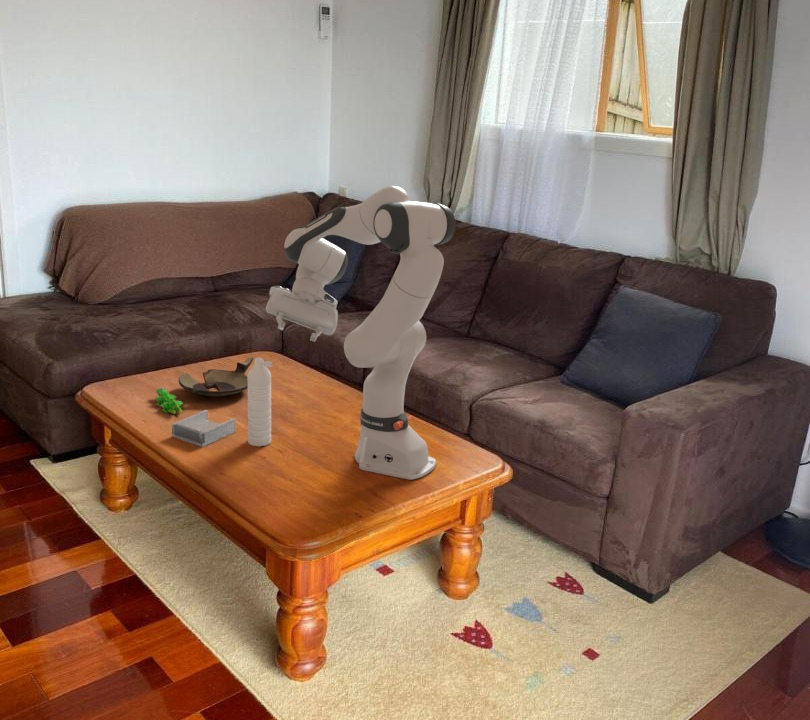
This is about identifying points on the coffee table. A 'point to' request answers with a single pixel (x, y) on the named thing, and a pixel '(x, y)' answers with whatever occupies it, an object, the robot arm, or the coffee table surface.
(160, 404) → the crocodile figurine
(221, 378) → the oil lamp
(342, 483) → the coffee table surface
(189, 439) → the keeper cradle
